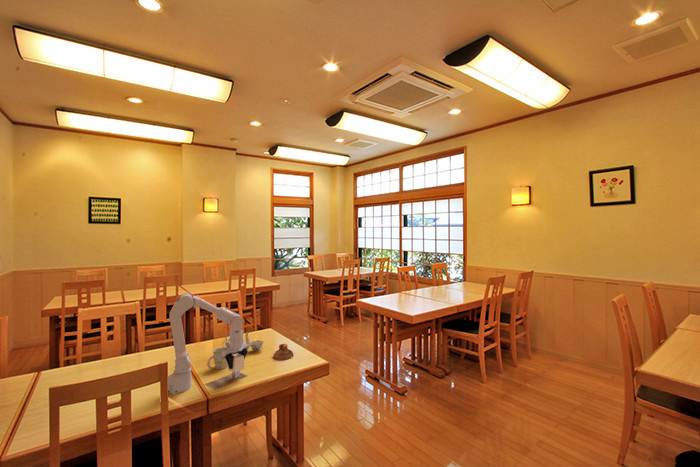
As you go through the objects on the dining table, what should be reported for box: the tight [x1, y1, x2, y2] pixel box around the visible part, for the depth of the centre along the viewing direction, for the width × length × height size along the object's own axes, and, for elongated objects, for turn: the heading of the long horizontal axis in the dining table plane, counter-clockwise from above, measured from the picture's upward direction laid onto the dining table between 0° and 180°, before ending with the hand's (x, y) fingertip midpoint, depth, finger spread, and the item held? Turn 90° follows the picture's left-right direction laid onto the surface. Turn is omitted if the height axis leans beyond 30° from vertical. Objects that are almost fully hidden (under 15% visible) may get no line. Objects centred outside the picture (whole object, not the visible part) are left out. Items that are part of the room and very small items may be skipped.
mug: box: [206, 346, 229, 370], centre depth 171 cm, size 8×13×10 cm, turn 149°
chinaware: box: [222, 329, 265, 355], centre depth 199 cm, size 28×17×17 cm, turn 84°
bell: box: [272, 343, 294, 361], centre depth 190 cm, size 12×12×7 cm
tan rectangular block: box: [227, 353, 245, 373], centre depth 159 cm, size 5×5×7 cm
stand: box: [204, 372, 248, 390], centre depth 156 cm, size 18×9×1 cm, turn 145°
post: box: [231, 370, 241, 379], centre depth 159 cm, size 3×3×5 cm
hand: (235, 366), depth 159 cm, fingers closed on tan rectangular block, 5 cm apart
